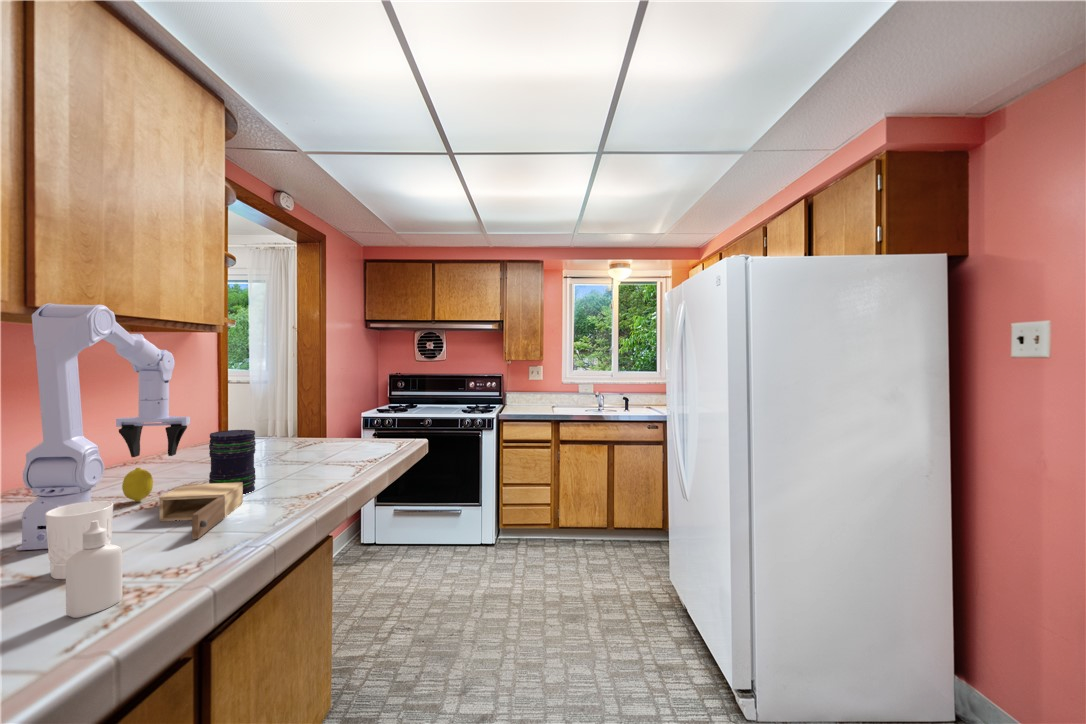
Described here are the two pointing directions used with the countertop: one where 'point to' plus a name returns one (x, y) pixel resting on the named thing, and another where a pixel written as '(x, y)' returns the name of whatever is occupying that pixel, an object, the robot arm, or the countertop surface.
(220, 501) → the door
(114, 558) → the eye dropper bottle
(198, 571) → the countertop surface
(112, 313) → the robot arm
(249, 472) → the storage jar
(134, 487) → the lemon
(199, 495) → the cabinet
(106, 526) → the white cup
